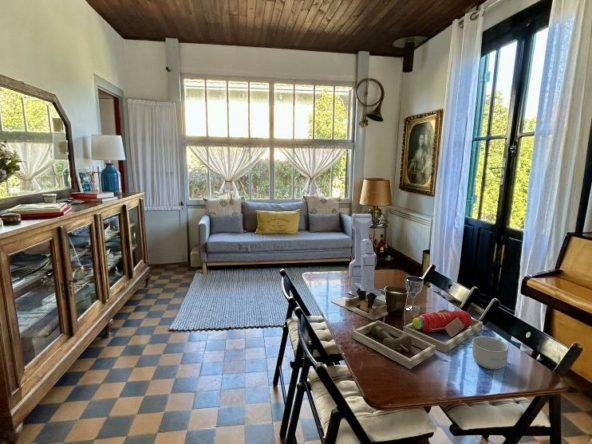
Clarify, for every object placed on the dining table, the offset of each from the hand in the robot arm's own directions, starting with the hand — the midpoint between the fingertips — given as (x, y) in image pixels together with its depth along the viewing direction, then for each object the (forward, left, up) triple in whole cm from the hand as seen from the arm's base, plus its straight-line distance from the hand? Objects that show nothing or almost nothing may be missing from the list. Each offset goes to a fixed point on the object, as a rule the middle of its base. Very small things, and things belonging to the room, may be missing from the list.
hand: (366, 305), depth 158 cm
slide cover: (-9, 0, +2) cm, 10 cm away
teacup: (-1, +55, -3) cm, 55 cm away
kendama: (+17, +27, -3) cm, 32 cm away
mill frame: (+17, +27, -2) cm, 32 cm away
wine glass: (-20, +12, -2) cm, 23 cm away
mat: (+2, -13, -2) cm, 14 cm away
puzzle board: (-4, 0, -2) cm, 5 cm away
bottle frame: (-10, +33, -2) cm, 35 cm away
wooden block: (0, 0, -2) cm, 2 cm away
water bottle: (-9, +33, -2) cm, 34 cm away
